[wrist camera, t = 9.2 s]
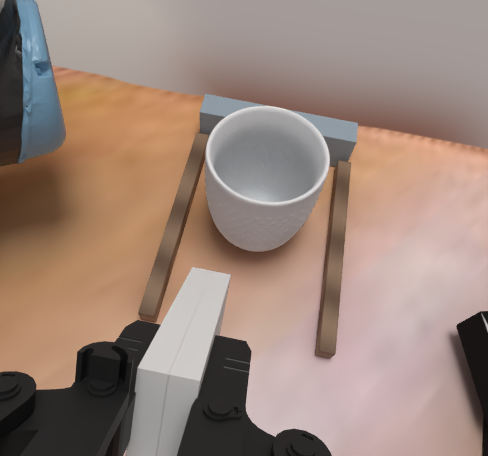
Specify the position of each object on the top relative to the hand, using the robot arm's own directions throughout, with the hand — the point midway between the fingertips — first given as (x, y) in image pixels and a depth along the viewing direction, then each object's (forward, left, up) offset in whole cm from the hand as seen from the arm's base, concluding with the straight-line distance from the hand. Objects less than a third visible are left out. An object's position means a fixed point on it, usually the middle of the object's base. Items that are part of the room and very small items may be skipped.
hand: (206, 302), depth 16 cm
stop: (-21, +23, -26) cm, 40 cm away
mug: (-13, +15, -26) cm, 33 cm away
